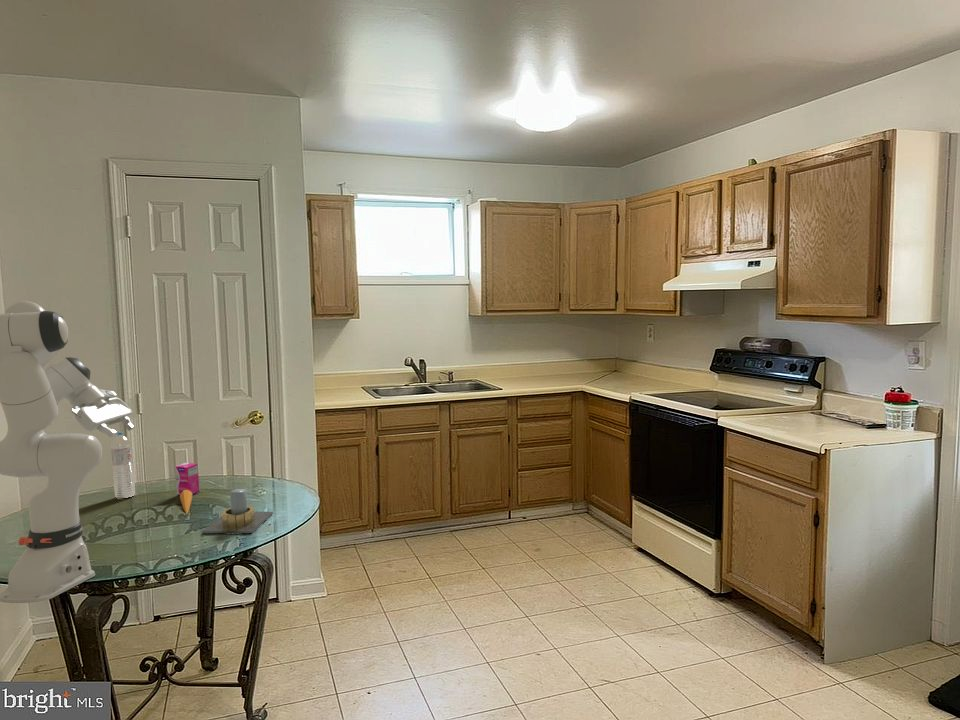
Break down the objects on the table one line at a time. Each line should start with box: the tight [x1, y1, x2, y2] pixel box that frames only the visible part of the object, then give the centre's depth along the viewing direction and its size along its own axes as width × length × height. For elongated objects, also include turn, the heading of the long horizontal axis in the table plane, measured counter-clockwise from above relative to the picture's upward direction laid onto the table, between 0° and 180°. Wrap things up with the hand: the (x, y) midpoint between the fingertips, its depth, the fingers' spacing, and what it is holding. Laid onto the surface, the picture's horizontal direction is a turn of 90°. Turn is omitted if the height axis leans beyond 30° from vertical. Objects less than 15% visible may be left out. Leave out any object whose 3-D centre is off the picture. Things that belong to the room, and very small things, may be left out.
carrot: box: [179, 490, 193, 515], centre depth 234 cm, size 20×4×4 cm, turn 25°
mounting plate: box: [201, 511, 274, 534], centre depth 215 cm, size 18×16×1 cm
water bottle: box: [110, 431, 136, 499], centre depth 247 cm, size 7×7×25 cm
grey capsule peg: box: [229, 488, 248, 514], centre depth 214 cm, size 5×5×10 cm
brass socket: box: [221, 505, 256, 526], centre depth 214 cm, size 10×10×4 cm
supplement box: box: [174, 462, 200, 496], centre depth 249 cm, size 6×6×12 cm
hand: (123, 432), depth 209 cm, fingers open, 8 cm apart
